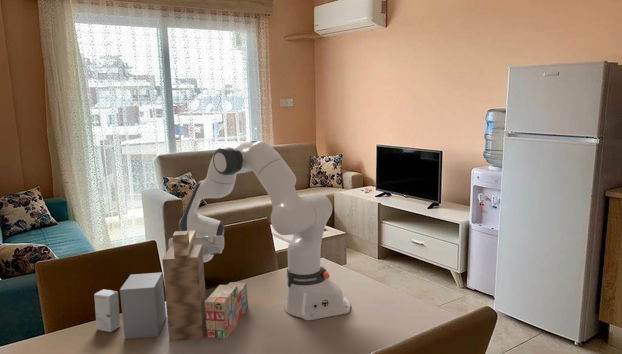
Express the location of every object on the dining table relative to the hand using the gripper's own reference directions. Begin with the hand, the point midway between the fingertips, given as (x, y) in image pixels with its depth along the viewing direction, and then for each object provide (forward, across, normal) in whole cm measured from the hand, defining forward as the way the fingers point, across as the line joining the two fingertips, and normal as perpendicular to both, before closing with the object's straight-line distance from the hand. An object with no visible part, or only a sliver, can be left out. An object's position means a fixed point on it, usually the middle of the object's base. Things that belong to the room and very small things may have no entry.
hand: (194, 238), depth 160 cm
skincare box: (+4, -26, +29) cm, 39 cm away
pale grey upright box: (+6, -14, +30) cm, 33 cm away
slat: (+18, 0, +6) cm, 19 cm away
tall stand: (+9, 0, +31) cm, 33 cm away
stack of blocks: (+6, +12, +30) cm, 33 cm away
